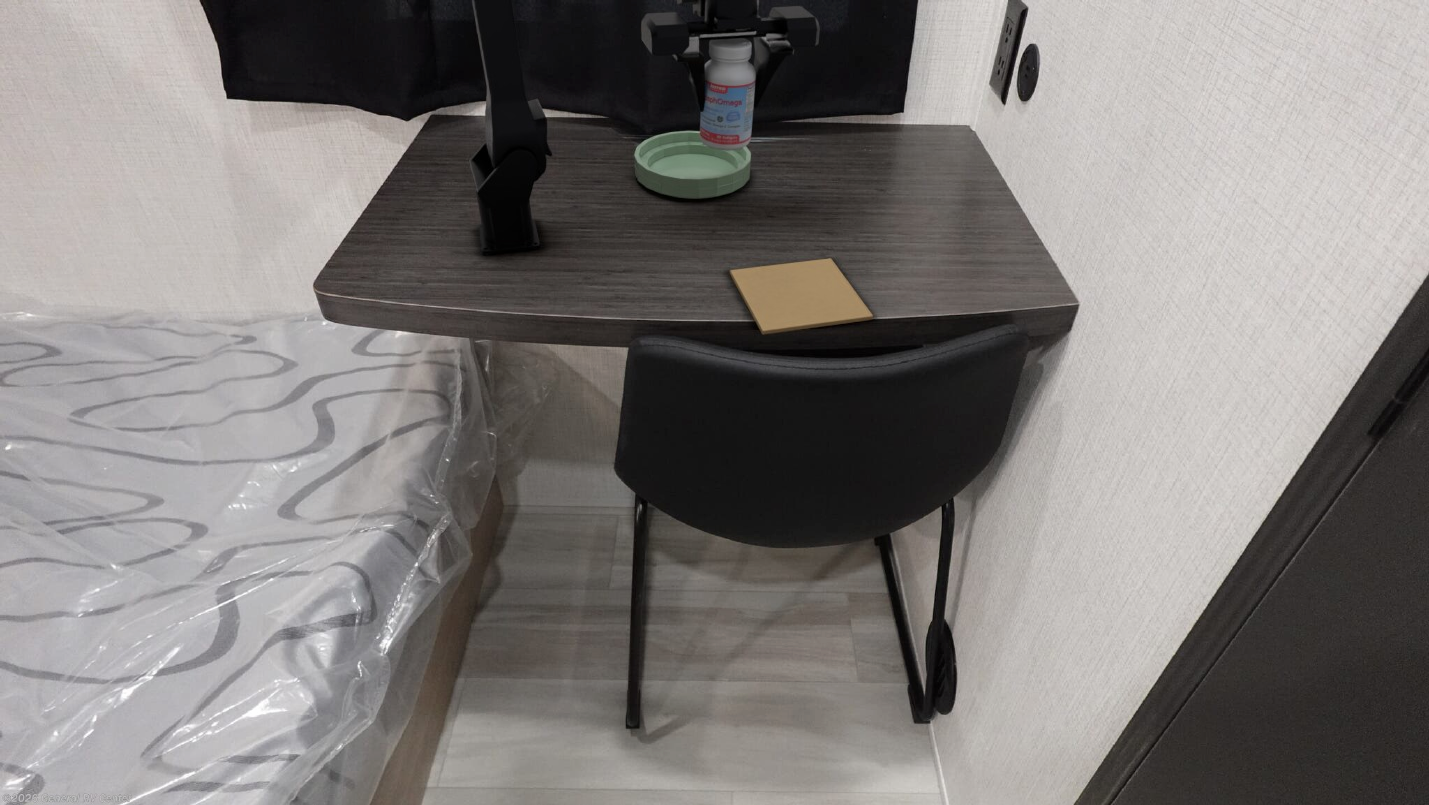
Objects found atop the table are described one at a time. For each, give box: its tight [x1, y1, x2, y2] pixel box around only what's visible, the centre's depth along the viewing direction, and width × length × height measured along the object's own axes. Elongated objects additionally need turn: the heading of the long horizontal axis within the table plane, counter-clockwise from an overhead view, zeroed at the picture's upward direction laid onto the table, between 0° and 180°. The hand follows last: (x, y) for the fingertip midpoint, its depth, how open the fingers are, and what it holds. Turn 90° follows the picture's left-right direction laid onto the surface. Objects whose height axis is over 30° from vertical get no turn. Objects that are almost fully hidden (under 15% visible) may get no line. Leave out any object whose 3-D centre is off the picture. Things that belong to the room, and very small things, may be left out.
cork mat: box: [729, 258, 874, 335], centre depth 90 cm, size 12×12×1 cm
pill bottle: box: [699, 38, 756, 150], centre depth 95 cm, size 6×6×11 cm
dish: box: [633, 130, 752, 200], centre depth 111 cm, size 15×15×3 cm
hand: (727, 108), depth 96 cm, fingers closed on pill bottle, 6 cm apart
